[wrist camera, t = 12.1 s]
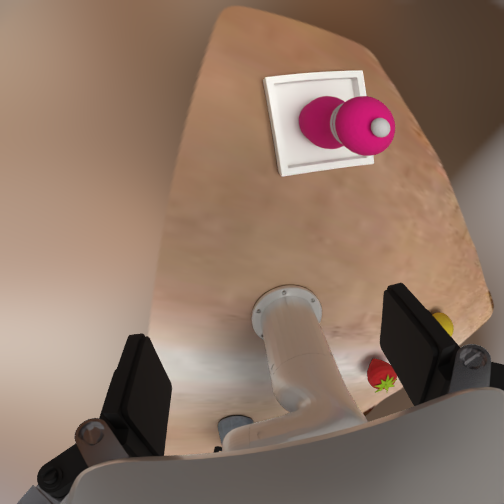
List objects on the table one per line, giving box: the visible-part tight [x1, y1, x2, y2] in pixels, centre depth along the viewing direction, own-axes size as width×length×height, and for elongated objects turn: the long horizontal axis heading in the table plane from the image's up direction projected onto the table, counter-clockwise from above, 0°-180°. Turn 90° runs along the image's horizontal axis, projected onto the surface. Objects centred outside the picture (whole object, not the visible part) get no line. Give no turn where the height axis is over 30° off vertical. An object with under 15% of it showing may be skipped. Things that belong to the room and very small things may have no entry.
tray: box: [263, 71, 374, 177], centre depth 41 cm, size 14×14×3 cm
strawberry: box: [367, 359, 397, 393], centre depth 58 cm, size 6×8×10 cm
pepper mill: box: [299, 96, 395, 156], centre depth 32 cm, size 7×7×20 cm
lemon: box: [433, 312, 453, 336], centre depth 56 cm, size 6×6×8 cm
